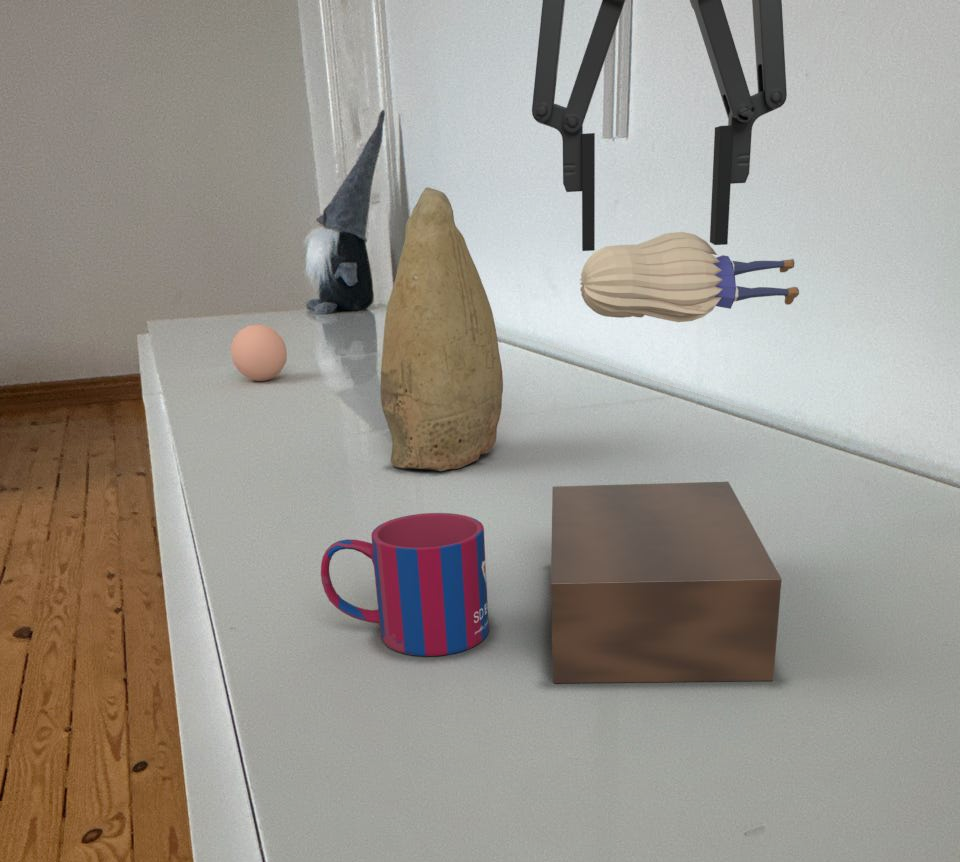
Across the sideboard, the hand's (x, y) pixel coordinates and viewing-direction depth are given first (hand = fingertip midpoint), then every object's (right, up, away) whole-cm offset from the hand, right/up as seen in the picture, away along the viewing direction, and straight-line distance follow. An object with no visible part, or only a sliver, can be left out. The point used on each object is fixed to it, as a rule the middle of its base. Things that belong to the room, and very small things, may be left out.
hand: (653, 245), depth 63 cm
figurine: (+3, -4, +2) cm, 5 cm away
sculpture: (-14, -7, +38) cm, 41 cm away
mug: (-15, -24, 0) cm, 29 cm away
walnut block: (0, -23, 0) cm, 23 cm away
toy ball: (-43, +13, +84) cm, 95 cm away
